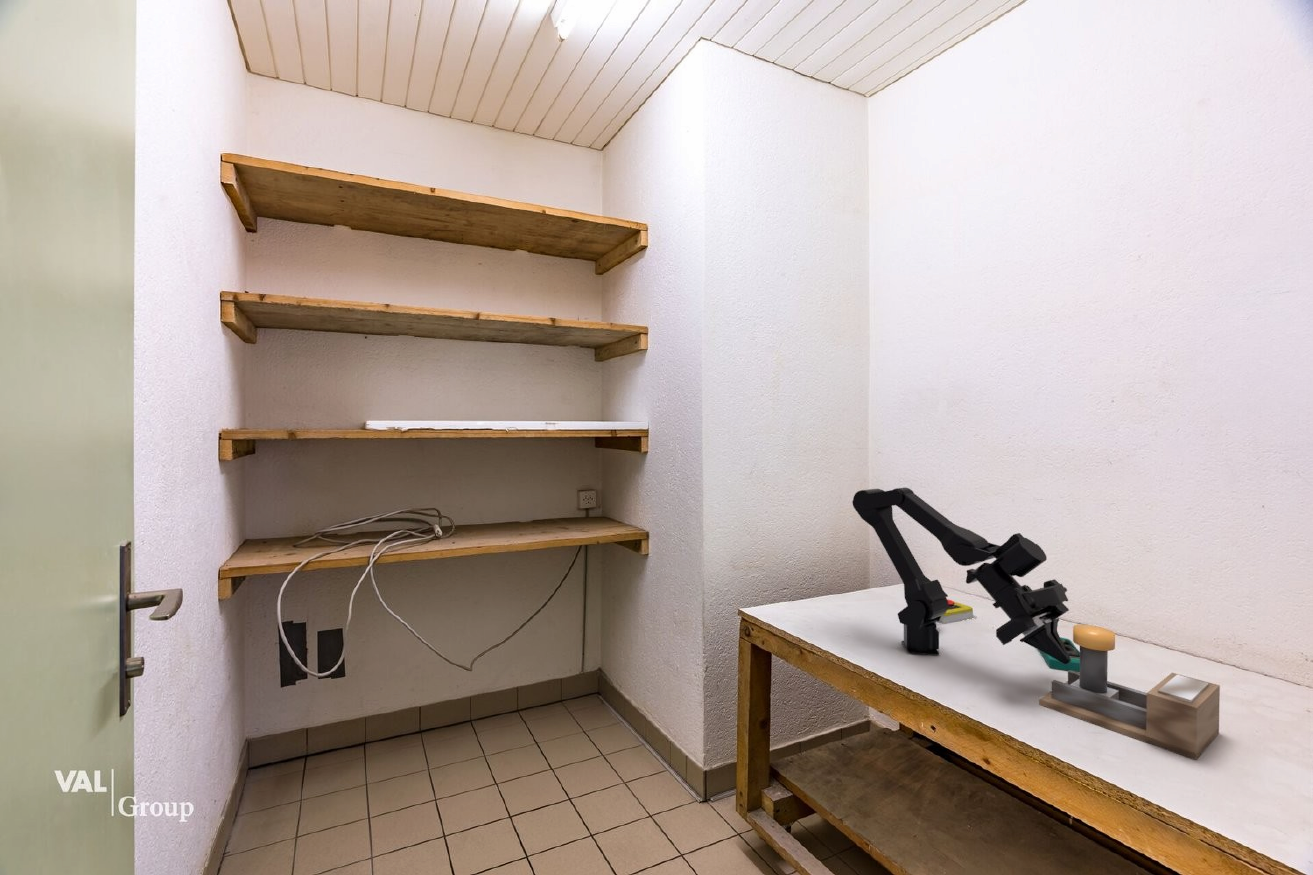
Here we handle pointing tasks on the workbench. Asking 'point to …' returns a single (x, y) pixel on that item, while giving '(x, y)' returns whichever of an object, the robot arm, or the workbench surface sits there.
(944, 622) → the emergency button
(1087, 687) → the knob carriage
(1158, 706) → the knob mount
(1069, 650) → the digital multimeter
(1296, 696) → the workbench surface
